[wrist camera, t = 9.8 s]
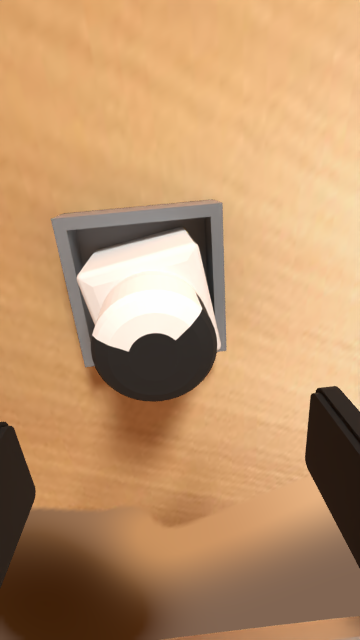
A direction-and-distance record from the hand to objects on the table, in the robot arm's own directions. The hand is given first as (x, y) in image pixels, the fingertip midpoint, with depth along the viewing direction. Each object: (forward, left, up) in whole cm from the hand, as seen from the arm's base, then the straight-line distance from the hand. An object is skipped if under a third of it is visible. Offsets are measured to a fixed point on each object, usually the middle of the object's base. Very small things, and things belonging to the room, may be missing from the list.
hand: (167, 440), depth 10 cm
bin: (0, +1, -18) cm, 18 cm away
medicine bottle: (0, 0, -17) cm, 17 cm away
